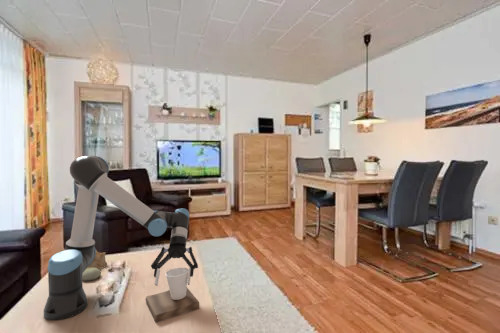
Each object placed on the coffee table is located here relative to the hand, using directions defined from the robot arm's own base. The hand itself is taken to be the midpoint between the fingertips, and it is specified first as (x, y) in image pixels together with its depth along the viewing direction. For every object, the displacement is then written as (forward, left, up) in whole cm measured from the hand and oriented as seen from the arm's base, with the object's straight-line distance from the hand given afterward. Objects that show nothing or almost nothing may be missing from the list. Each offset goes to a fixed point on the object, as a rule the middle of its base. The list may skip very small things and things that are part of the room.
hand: (172, 284), depth 114 cm
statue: (-25, +64, -10) cm, 69 cm away
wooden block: (0, +1, -10) cm, 10 cm away
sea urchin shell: (-28, +50, -10) cm, 58 cm away
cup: (+3, +1, -7) cm, 8 cm away
